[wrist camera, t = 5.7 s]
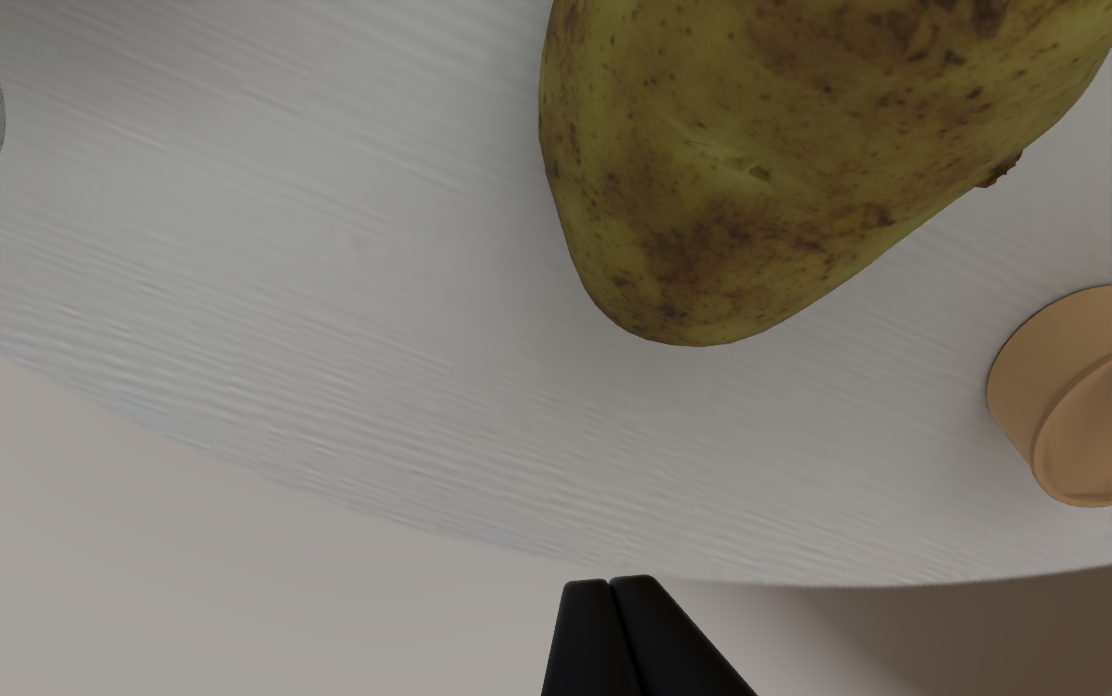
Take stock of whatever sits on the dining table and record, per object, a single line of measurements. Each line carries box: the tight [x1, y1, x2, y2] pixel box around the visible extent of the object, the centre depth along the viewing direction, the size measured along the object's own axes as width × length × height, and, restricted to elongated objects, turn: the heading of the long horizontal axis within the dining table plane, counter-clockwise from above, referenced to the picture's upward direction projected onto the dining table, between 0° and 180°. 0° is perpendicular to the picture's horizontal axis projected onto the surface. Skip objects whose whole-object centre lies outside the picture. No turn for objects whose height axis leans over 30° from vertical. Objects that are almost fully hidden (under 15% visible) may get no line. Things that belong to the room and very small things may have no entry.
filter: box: [987, 285, 1112, 508], centre depth 25 cm, size 5×5×2 cm
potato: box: [538, 0, 1112, 347], centre depth 15 cm, size 8×13×8 cm, turn 141°
